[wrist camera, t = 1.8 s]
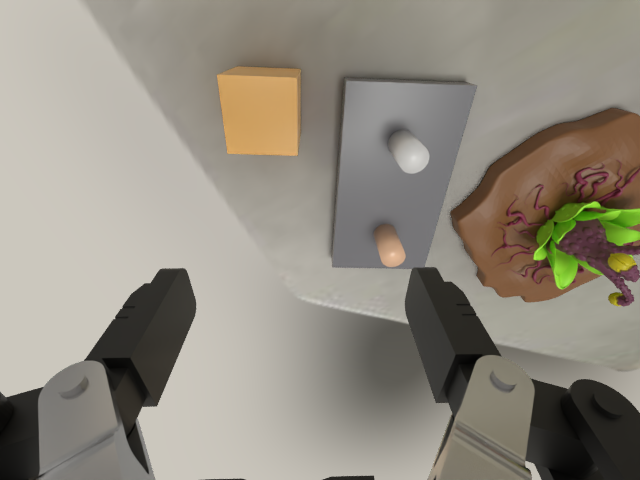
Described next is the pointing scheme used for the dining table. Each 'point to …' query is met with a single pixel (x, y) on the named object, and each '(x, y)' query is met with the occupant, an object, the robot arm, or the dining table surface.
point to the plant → (559, 211)
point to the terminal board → (395, 168)
